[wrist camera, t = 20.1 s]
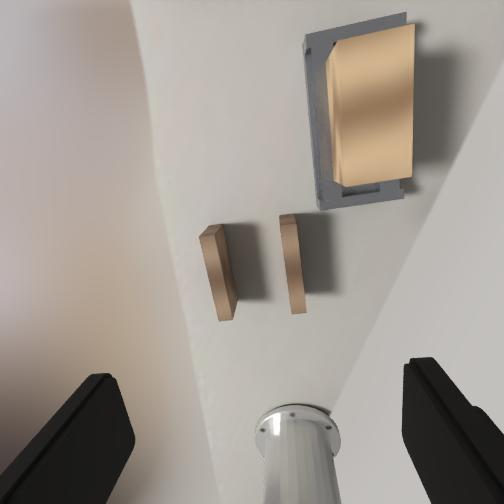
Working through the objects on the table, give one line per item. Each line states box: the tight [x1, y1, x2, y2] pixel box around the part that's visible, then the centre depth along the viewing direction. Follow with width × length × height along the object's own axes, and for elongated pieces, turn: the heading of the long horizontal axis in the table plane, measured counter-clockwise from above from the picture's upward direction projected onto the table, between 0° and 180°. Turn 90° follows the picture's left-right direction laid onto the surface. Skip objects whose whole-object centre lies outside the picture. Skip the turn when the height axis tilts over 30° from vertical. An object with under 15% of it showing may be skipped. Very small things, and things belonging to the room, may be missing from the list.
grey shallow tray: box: [303, 12, 407, 210], centre depth 26 cm, size 15×8×3 cm, turn 9°
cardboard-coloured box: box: [326, 23, 415, 187], centre depth 23 cm, size 10×5×5 cm, turn 10°
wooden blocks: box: [199, 214, 307, 321], centre depth 31 cm, size 10×10×4 cm
